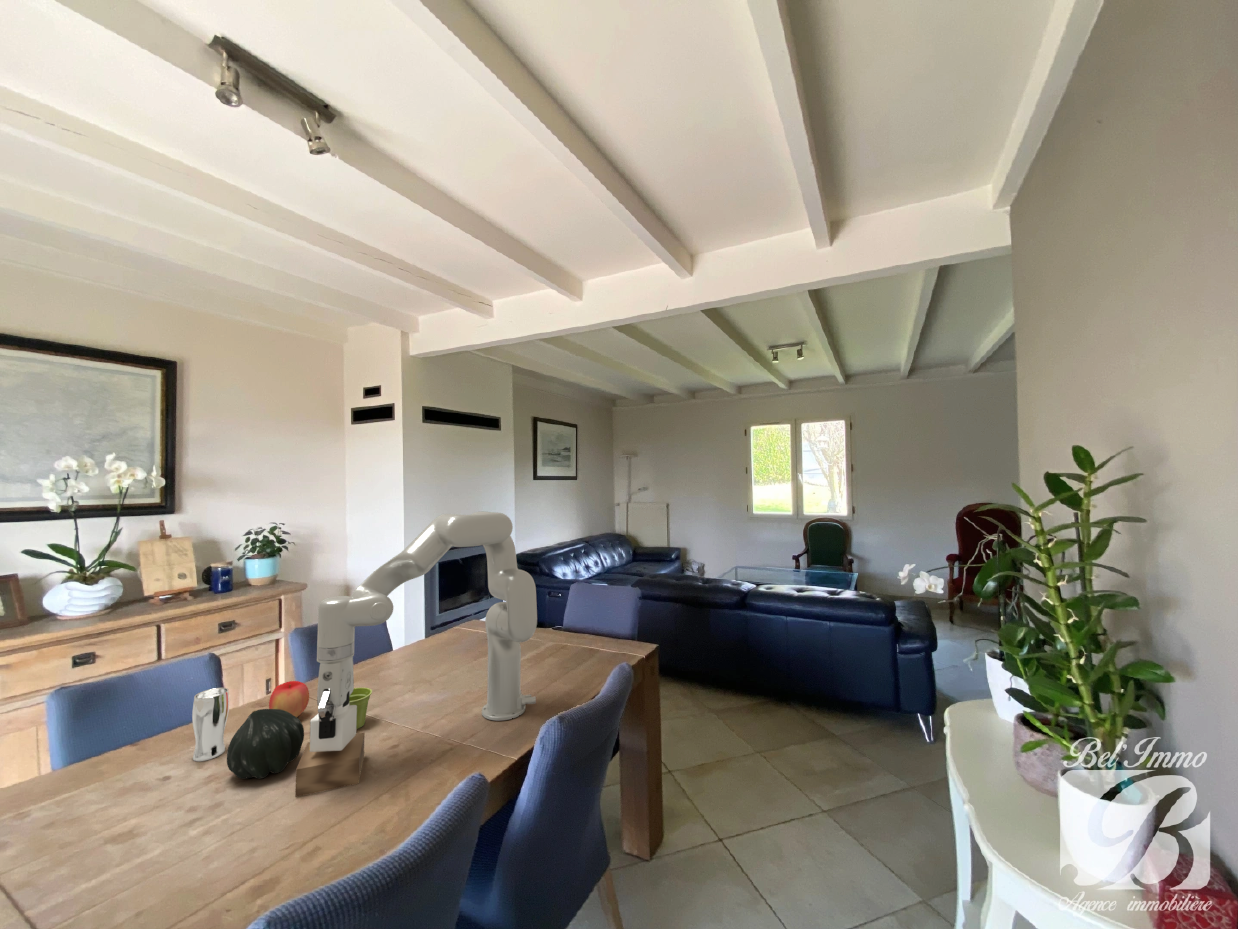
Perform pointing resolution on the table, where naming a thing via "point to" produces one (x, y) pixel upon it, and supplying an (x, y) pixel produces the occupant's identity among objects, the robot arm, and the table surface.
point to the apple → (290, 697)
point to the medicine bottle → (343, 731)
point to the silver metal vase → (210, 723)
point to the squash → (265, 743)
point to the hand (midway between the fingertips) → (333, 728)
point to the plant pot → (360, 703)
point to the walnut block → (330, 768)
